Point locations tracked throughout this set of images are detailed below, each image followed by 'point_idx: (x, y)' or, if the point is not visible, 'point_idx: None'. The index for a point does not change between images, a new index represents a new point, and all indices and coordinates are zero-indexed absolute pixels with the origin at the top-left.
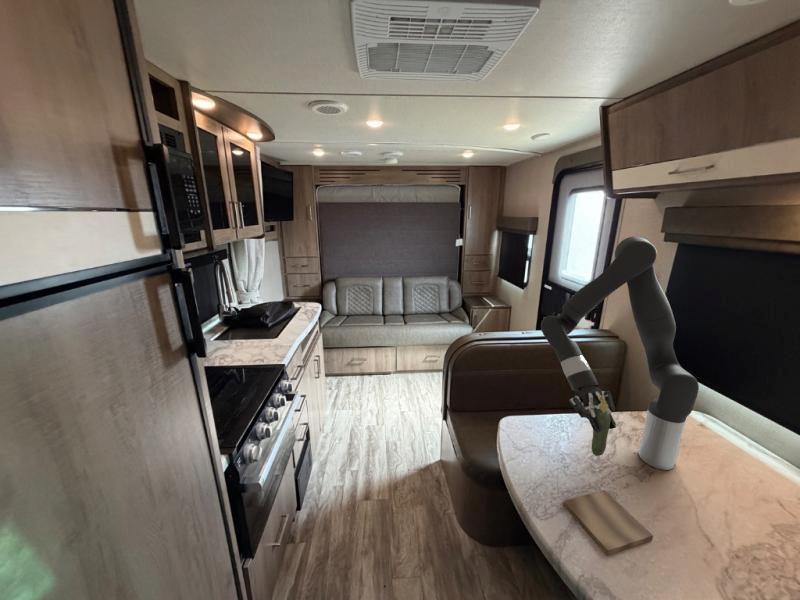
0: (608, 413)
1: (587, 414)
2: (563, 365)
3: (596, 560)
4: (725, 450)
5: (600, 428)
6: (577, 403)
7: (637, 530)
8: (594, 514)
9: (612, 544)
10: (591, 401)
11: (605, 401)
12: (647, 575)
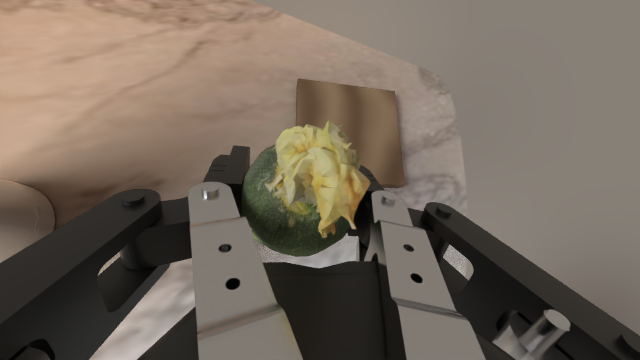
0: (271, 153)
1: (445, 205)
2: None
3: (409, 98)
4: None
5: None
6: (573, 294)
7: (316, 93)
8: (367, 142)
9: (380, 94)
10: (408, 279)
11: (314, 135)
12: (356, 60)
